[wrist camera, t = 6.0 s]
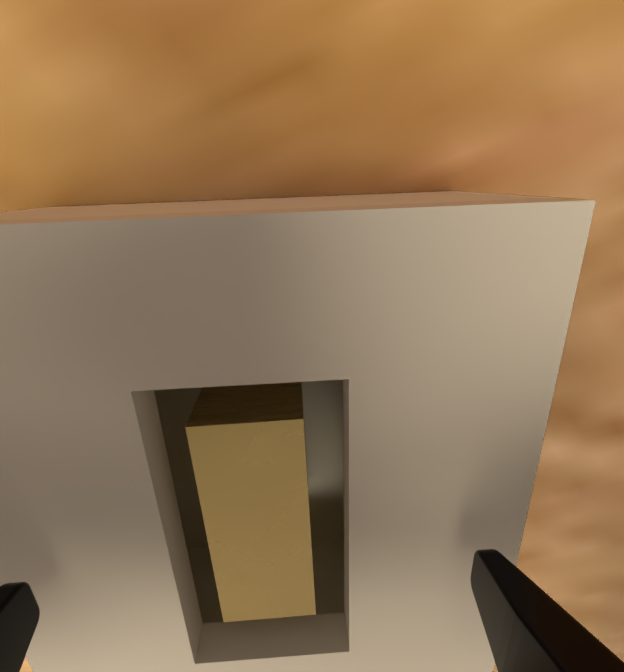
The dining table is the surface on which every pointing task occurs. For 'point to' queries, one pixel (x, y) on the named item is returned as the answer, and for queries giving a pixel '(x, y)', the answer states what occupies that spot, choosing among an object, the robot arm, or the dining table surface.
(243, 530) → the two-tone wooden block
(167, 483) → the moneybox
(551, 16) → the dining table surface
